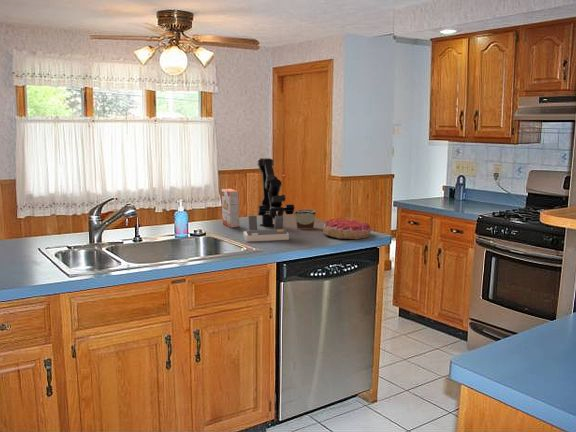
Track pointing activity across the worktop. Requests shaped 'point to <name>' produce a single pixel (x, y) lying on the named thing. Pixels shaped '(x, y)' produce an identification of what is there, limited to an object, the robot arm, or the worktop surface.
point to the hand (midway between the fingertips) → (278, 222)
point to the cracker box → (230, 207)
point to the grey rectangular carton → (278, 222)
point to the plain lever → (252, 222)
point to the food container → (305, 218)
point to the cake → (346, 229)
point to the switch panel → (266, 235)
